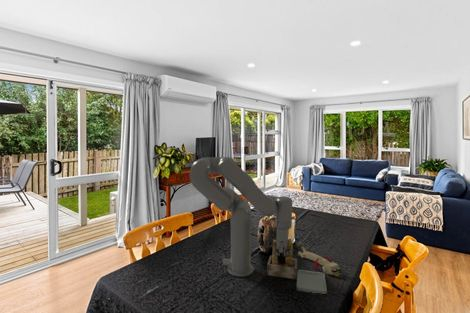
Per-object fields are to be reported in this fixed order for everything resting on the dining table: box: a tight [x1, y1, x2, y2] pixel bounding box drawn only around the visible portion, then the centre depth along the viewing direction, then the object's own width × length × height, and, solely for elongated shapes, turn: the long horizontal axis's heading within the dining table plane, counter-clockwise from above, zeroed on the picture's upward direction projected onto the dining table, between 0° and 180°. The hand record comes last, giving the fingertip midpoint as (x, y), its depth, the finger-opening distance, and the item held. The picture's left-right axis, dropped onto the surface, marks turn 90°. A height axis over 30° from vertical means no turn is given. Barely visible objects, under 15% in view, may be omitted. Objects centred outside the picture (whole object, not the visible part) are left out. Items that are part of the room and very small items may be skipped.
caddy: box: [266, 255, 298, 280], centre depth 125 cm, size 13×10×5 cm
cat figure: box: [297, 242, 342, 277], centre depth 131 cm, size 10×9×25 cm
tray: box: [296, 268, 328, 295], centre depth 116 cm, size 12×15×2 cm
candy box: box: [271, 238, 294, 267], centre depth 124 cm, size 9×4×15 cm, turn 91°
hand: (282, 260), depth 124 cm, fingers closed on candy box, 5 cm apart
